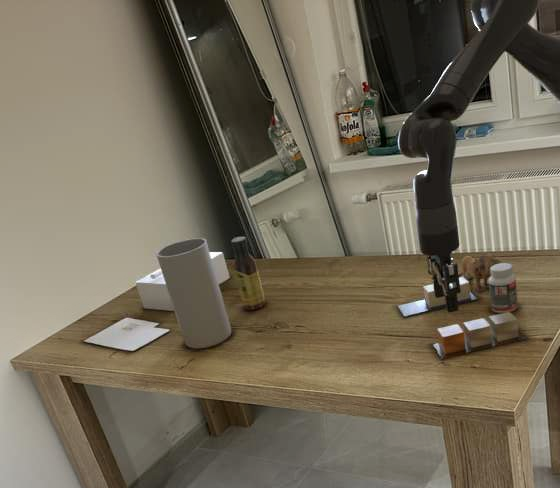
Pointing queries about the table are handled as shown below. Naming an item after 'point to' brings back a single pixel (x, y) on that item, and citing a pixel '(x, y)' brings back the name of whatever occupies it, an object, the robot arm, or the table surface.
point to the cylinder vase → (194, 292)
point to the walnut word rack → (487, 334)
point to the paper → (127, 334)
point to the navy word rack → (436, 300)
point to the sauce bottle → (247, 275)
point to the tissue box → (156, 289)
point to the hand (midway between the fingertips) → (446, 303)
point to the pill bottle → (502, 288)
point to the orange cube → (451, 339)
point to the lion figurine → (478, 268)
